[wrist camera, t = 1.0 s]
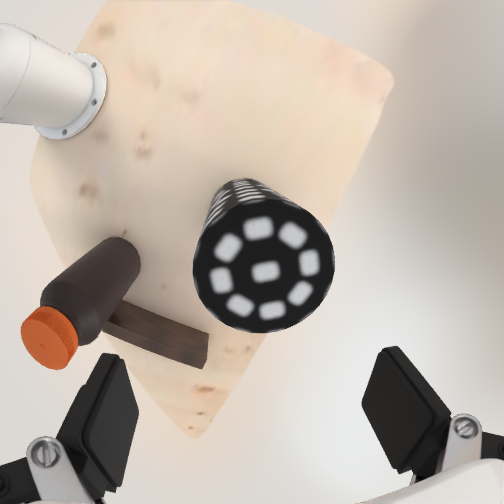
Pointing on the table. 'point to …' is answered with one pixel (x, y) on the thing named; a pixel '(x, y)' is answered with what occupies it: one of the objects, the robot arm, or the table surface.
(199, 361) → the bar
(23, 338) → the bottle
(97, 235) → the table surface
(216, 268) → the white-spotted black cylinder
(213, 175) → the table surface
